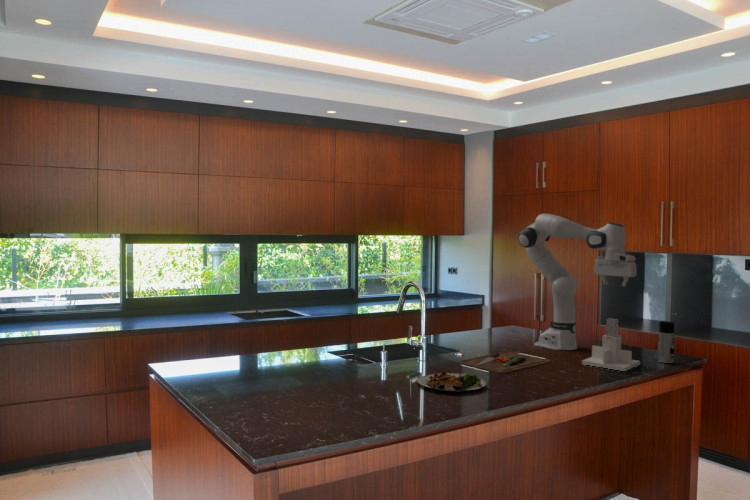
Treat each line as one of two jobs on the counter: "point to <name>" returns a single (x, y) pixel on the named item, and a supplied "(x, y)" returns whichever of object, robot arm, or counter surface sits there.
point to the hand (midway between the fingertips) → (614, 285)
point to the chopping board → (503, 362)
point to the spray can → (666, 342)
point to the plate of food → (452, 381)
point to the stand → (611, 355)
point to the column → (612, 327)
